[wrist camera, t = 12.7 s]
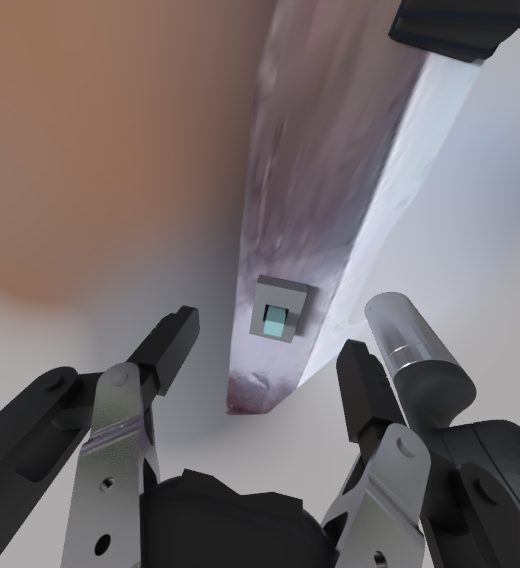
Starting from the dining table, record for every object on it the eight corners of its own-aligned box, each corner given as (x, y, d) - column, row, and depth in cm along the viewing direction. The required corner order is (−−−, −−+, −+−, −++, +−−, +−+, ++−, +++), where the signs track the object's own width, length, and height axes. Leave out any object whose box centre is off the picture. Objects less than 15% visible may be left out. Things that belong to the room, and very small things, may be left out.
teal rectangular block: (286, 301, 49) (284, 324, 42) (283, 313, 51) (280, 337, 44) (270, 298, 49) (265, 320, 42) (268, 310, 51) (263, 333, 44)
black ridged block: (503, 70, 23) (589, -43, 12) (389, 61, 28) (375, -27, 17) (535, 22, 21) (675, -169, 10) (406, 20, 26) (404, -110, 15)
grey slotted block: (259, 274, 46) (256, 282, 43) (306, 284, 45) (307, 293, 42) (252, 324, 55) (249, 333, 52) (291, 333, 54) (291, 343, 51)
